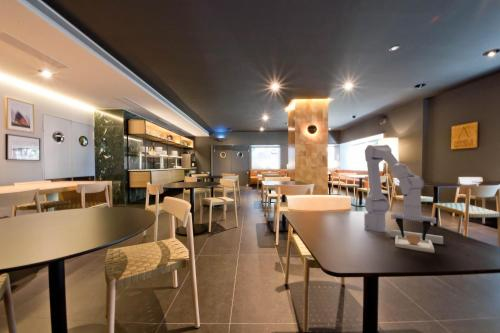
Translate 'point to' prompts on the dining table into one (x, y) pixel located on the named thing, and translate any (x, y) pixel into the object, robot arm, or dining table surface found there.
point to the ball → (413, 238)
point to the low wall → (428, 237)
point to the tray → (421, 246)
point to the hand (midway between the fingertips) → (413, 238)
